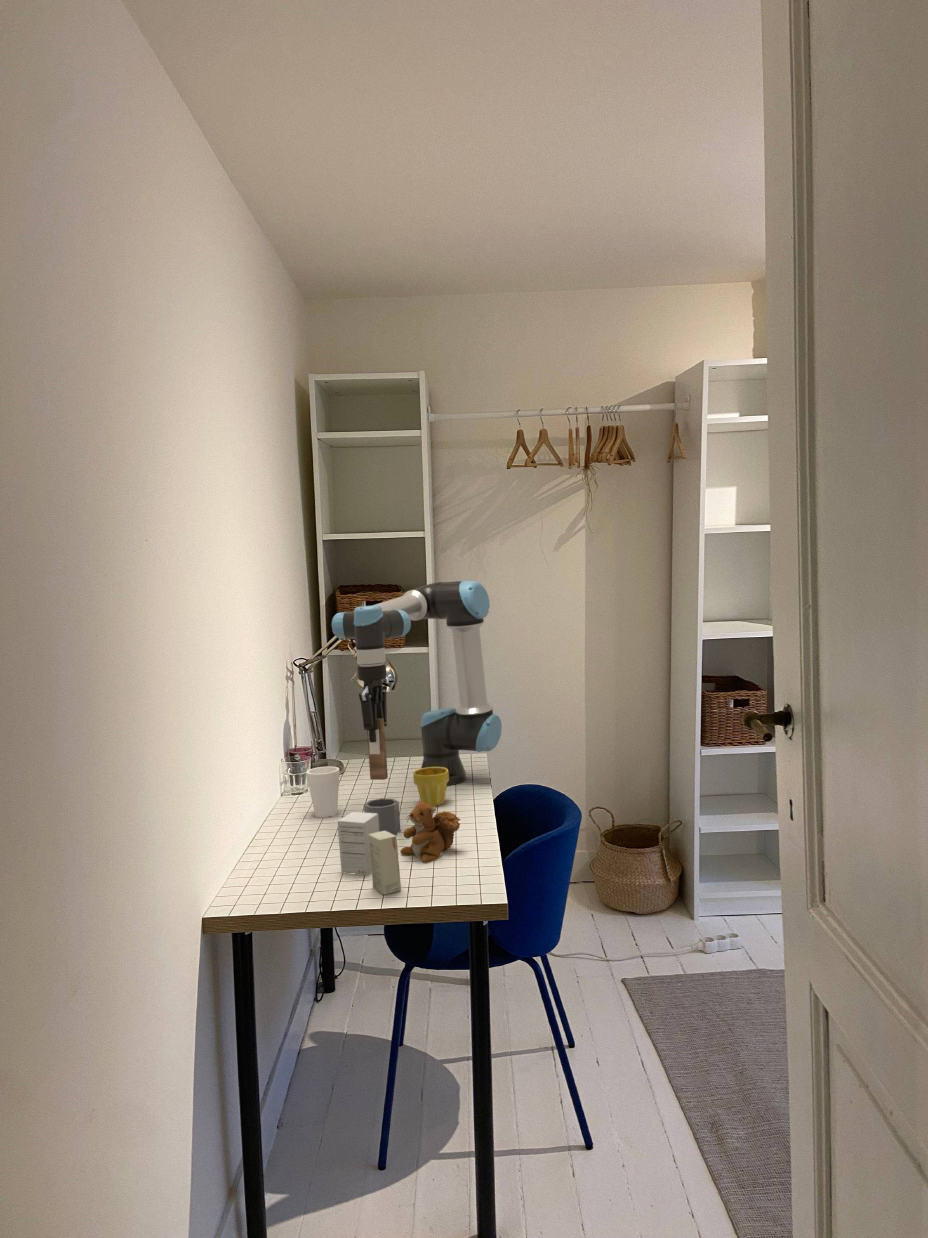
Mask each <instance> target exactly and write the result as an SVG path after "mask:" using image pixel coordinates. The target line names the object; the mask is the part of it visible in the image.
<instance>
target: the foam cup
mask: <svg viewBox="0 0 928 1238" xmlns="http://www.w3.org/2000/svg"><path fill="white" fill-rule="evenodd" d="M340 772H341V771H340V768H339V767H337V766H318V767H314V768H311V769H308V770H306V781H307V783H308V787H309V793H310V797H311V801H312V807H313V810H314V811H313V812H314V815H315V817H317V818H320V819H323V818H330V817H329V816H332V817H334V816H336V815H337V814H338V807H339V806H338V805H339V804H338V803H339V786H340V777H341V776H340V774H341V773H340Z"/></svg>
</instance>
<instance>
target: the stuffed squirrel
mask: <svg viewBox="0 0 928 1238" xmlns="http://www.w3.org/2000/svg"><path fill="white" fill-rule="evenodd" d="M436 810H437V807H436V806H430V805H429V804H426V803H423V802H422V801H421V800H419V801H418V803H416V804H415V806H414V807H413V809H412V810H411V811H410V813H409V814H408V815H407V816H406V819H405V820H407V821H406V823H409V820H410V822H411V823H412V824H413V825H412V826H411V827H410V826H409V827H406V828H405V829H404V831H403V832H402V834H403V837H404V839H408V840H409V839H411V844H410V846H404V847H402V848H401V849H400V854H401V855H402V856H416V857H418V858H420V860H421V863H424V864H426V863H429V862H433V861H435V860H437V859H439V858H440V856H441V855H442V853H445V852H446V851H448V849H451V847H452V846H453V844H454V836H455V833H456V832H457V831H458V830H459V829H460V825H461V823H459V821H462V819H461V818H459V816H457V815H456V814H455V813H453V812H451V811H446V810H443V811H441V812H438V813H436V814H435V815H434V813H435V812H436Z"/></svg>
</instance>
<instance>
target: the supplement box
mask: <svg viewBox="0 0 928 1238" xmlns="http://www.w3.org/2000/svg"><path fill="white" fill-rule="evenodd" d="M336 822H337V832H338V845H339V856H340V859H339V860H340V869H341V873H342V872H346V873H345V874H347V873H355V874H354V875H358V874H361V875H362V876H370V874H372V870H371V859H370V847H369V836H368V835H369V834H372V833H376V832H379V820H378V814H377V813H364V812H356V811H354V812H349V813H348V814H347V815H345V816H343V817H342V818H340V819H338V820H337V821H336ZM361 875H360V876H361Z"/></svg>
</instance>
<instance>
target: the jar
mask: <svg viewBox="0 0 928 1238" xmlns="http://www.w3.org/2000/svg"><path fill="white" fill-rule="evenodd" d="M363 811H364V812H363V813H377V814H378V820H379V832H381V831H387V832H390V833H392V834H394V835H395V834H396V835H398V834H397V833H398V832H399V833H400V832H401V830H402V829H401V828H402V827H401V816H400V814H401V813H400V801H399V800H397V799H395V798H385V797H384V798H383V797H382V798H376V799H371V800H368V801H367V802H365V803H363ZM396 835H395V836H396Z"/></svg>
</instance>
